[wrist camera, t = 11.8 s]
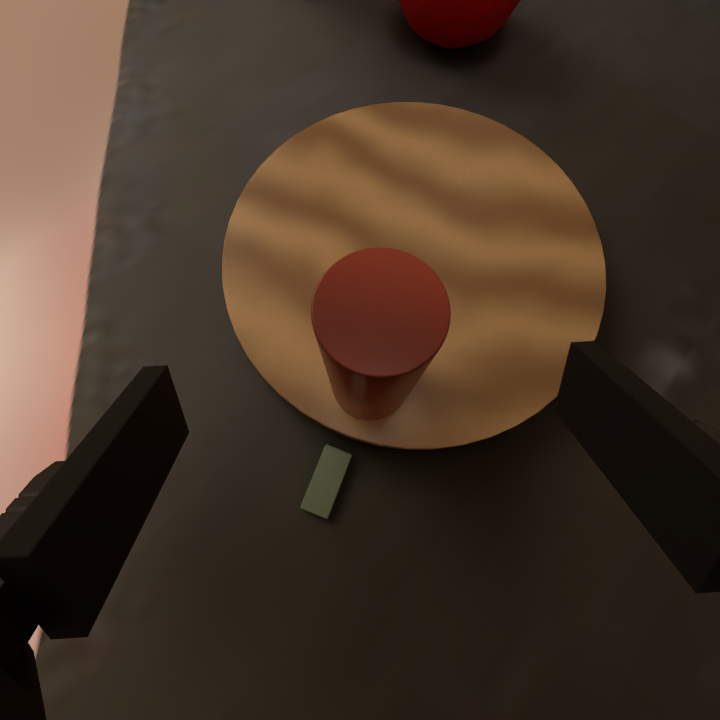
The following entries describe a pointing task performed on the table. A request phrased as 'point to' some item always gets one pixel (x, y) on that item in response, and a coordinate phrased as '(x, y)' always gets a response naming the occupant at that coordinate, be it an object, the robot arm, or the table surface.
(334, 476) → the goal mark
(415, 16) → the fruit
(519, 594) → the table surface
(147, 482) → the robot arm
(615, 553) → the table surface
